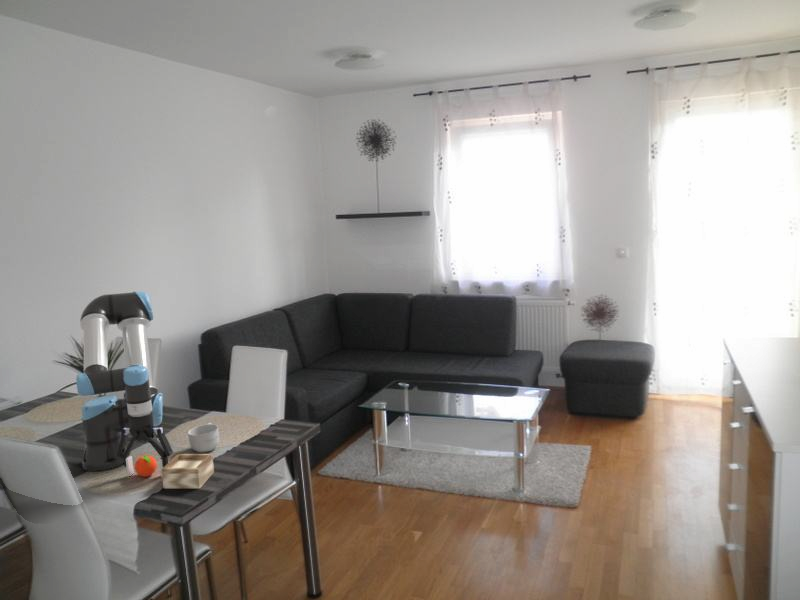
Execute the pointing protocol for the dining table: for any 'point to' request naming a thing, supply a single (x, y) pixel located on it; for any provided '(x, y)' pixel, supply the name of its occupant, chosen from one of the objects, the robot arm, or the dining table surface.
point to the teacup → (204, 437)
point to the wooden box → (188, 471)
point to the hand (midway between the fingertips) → (147, 475)
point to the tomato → (145, 466)
